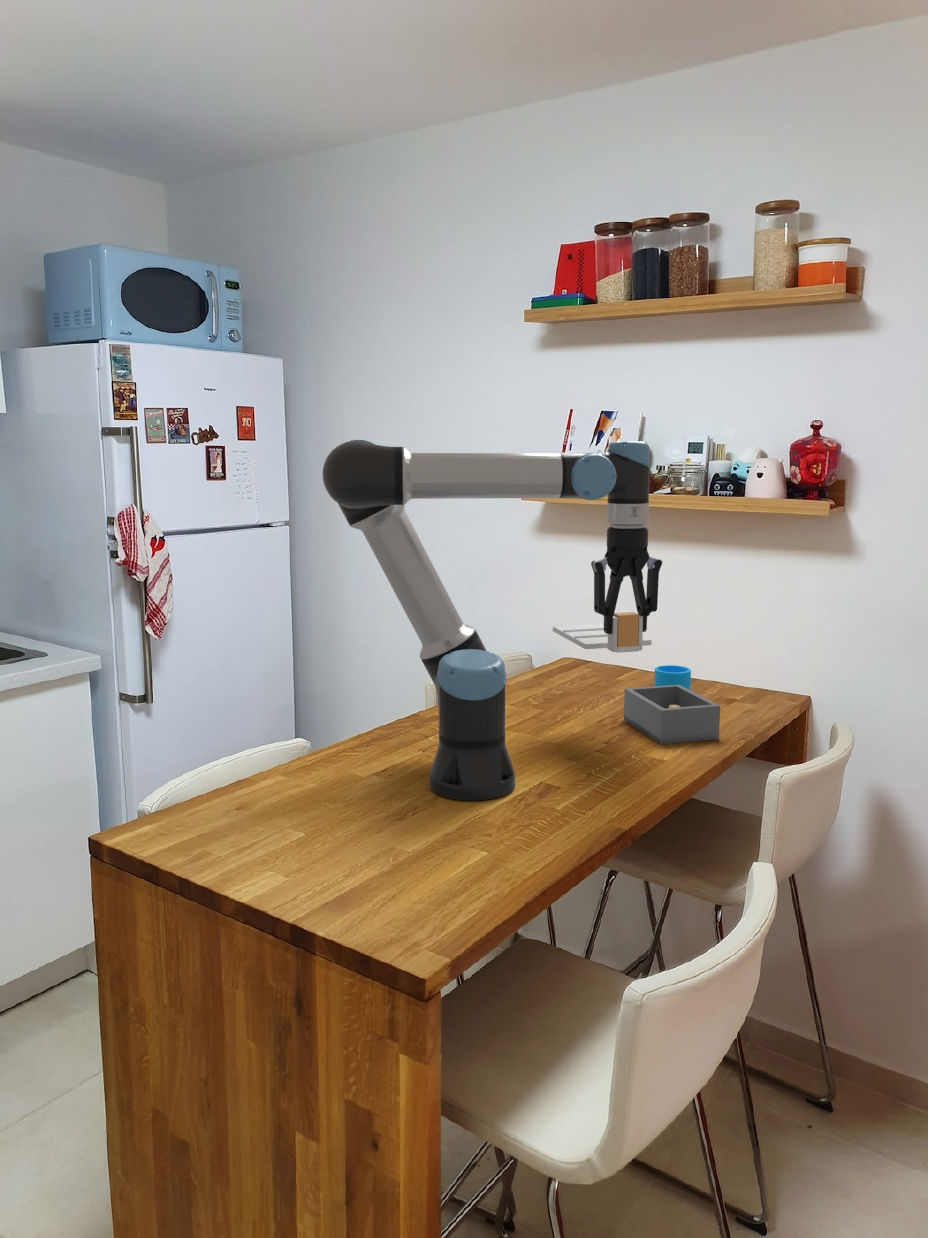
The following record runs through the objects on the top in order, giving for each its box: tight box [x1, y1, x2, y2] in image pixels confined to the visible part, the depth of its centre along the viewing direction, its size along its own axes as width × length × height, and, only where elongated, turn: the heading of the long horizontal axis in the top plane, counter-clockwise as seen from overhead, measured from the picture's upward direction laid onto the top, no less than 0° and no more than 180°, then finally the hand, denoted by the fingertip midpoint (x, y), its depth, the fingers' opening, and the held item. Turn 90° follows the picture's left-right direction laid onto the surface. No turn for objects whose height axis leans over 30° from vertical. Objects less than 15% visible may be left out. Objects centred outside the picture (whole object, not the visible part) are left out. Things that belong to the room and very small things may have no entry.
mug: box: [653, 664, 692, 690], centre depth 223 cm, size 12×8×8 cm
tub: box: [623, 685, 721, 745], centre depth 201 cm, size 13×18×7 cm
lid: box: [552, 611, 652, 653], centre depth 190 cm, size 14×23×7 cm, turn 14°
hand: (624, 649), depth 181 cm, fingers closed on lid, 4 cm apart
